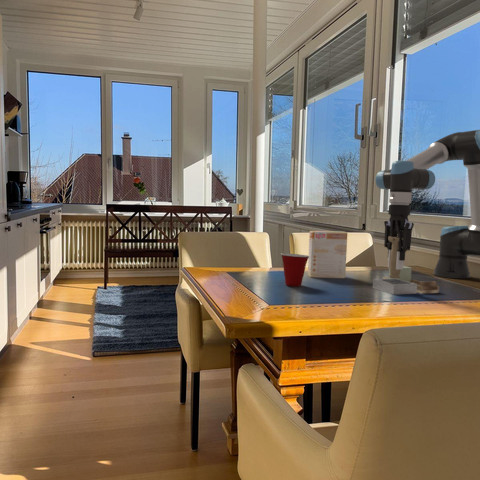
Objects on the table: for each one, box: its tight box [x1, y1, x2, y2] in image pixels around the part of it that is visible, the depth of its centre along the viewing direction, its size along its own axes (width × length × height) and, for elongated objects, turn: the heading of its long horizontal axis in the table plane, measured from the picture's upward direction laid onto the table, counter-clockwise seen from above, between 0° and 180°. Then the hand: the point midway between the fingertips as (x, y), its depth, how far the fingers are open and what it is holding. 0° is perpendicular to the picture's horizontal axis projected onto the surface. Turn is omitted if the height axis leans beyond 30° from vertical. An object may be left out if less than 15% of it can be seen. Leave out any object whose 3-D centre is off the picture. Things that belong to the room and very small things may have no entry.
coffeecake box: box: [307, 230, 348, 279], centre depth 191 cm, size 15×7×20 cm, turn 92°
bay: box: [382, 276, 440, 294], centre depth 173 cm, size 8×22×4 cm, turn 19°
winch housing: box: [372, 278, 418, 296], centre depth 164 cm, size 10×12×4 cm
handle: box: [388, 236, 403, 279], centre depth 163 cm, size 5×6×15 cm
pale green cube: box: [387, 265, 413, 282], centre depth 178 cm, size 6×6×6 cm
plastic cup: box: [280, 252, 309, 287], centre depth 168 cm, size 11×11×12 cm
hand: (395, 268), depth 164 cm, fingers closed on handle, 4 cm apart
